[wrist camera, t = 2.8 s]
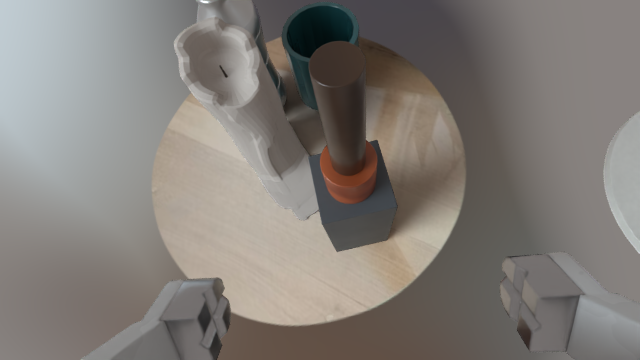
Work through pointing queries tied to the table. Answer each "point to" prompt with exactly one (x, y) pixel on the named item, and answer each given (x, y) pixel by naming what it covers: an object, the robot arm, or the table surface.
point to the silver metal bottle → (238, 9)
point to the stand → (356, 209)
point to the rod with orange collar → (343, 121)
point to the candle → (247, 108)
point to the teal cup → (315, 39)
